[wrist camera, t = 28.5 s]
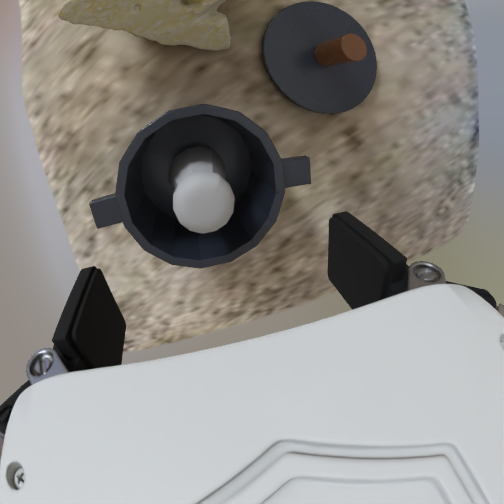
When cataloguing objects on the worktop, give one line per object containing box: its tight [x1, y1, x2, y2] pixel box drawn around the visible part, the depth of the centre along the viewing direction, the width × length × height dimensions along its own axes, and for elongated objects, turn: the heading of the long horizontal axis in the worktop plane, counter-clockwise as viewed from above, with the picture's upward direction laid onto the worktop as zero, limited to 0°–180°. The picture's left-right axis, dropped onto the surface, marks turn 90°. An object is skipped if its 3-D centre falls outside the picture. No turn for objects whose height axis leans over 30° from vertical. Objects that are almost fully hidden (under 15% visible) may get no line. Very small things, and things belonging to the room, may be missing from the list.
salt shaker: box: [169, 146, 235, 234], centre depth 24 cm, size 6×6×13 cm
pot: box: [89, 104, 311, 268], centre depth 26 cm, size 14×19×10 cm
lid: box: [262, 2, 377, 114], centre depth 23 cm, size 15×15×7 cm
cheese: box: [58, 0, 231, 51], centre depth 18 cm, size 15×7×15 cm
